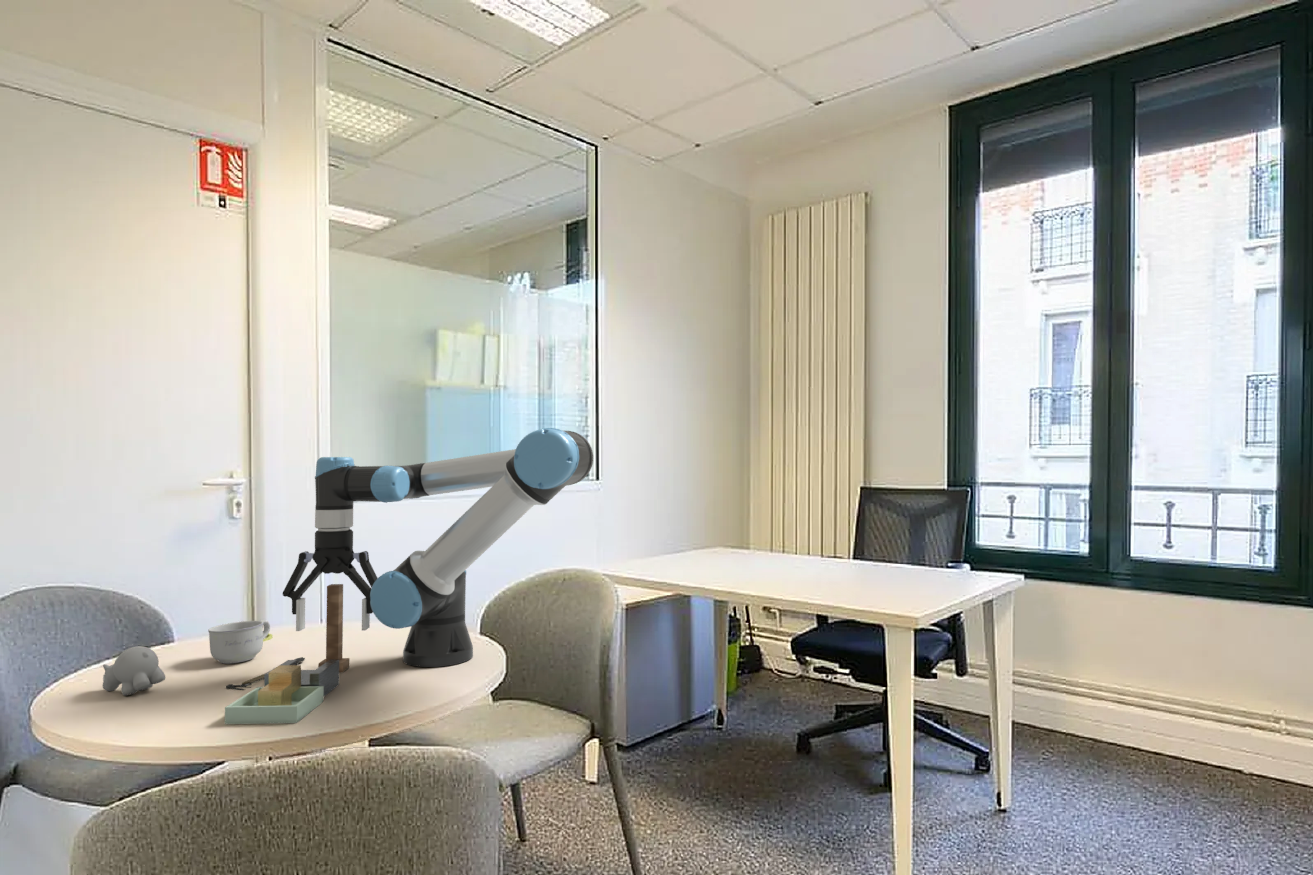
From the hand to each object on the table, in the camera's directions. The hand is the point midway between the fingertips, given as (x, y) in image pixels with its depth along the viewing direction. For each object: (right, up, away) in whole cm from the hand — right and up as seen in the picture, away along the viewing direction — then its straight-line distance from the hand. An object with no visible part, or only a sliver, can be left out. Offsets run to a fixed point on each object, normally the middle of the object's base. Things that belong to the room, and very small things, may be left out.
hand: (333, 629), depth 161 cm
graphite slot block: (+1, -8, -15) cm, 17 cm away
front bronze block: (+1, -5, -25) cm, 25 cm away
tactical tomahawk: (-11, -9, -3) cm, 15 cm away
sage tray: (+1, -8, -26) cm, 28 cm away
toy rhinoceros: (-33, -9, -14) cm, 37 cm away
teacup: (-24, -9, +10) cm, 28 cm away
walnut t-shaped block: (0, -9, 0) cm, 9 cm away
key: (-33, -10, +28) cm, 45 cm away
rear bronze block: (+1, -5, -23) cm, 23 cm away
